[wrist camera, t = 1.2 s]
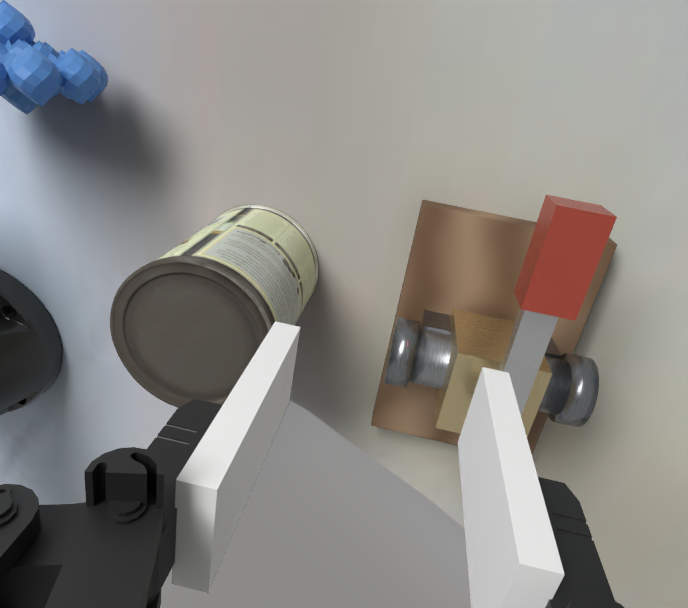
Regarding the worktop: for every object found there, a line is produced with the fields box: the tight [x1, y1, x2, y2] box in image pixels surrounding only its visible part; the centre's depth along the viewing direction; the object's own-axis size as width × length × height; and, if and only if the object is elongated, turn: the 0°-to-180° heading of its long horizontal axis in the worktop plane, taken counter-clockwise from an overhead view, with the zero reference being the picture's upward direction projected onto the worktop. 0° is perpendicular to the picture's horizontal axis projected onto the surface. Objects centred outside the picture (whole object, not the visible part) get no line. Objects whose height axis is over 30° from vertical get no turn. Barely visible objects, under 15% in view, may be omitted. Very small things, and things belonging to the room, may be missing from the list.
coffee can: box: [110, 205, 318, 408], centre depth 37 cm, size 10×10×14 cm
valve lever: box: [499, 195, 617, 433], centre depth 29 cm, size 16×3×2 cm, turn 170°
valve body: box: [384, 309, 599, 437], centre depth 37 cm, size 14×6×10 cm, turn 80°
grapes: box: [0, 0, 108, 114], centre depth 34 cm, size 12×7×12 cm, turn 88°
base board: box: [371, 200, 617, 454], centre depth 42 cm, size 14×20×2 cm
